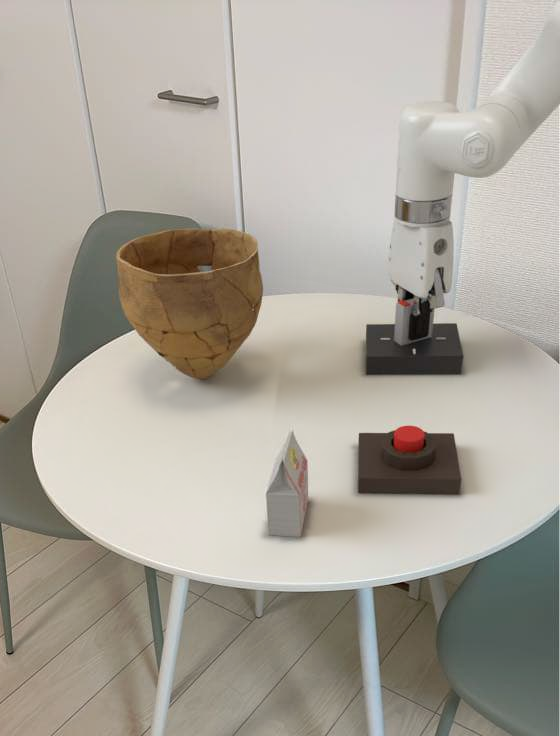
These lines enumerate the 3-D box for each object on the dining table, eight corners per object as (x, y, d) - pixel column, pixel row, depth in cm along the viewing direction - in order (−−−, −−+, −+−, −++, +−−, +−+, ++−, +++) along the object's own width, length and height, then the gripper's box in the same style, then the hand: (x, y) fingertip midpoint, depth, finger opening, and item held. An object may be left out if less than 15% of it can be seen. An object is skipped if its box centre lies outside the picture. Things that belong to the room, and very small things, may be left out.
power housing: (451, 447, 97) (455, 420, 95) (459, 494, 90) (463, 466, 87) (358, 446, 99) (359, 420, 96) (357, 492, 91) (358, 465, 89)
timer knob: (424, 332, 116) (427, 293, 112) (431, 337, 115) (435, 297, 111) (393, 340, 114) (396, 301, 110) (400, 345, 113) (403, 306, 109)
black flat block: (454, 340, 120) (456, 322, 118) (461, 374, 112) (463, 354, 109) (365, 341, 122) (366, 323, 119) (365, 374, 113) (366, 355, 111)
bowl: (116, 368, 120) (91, 241, 107) (229, 335, 126) (218, 211, 113) (168, 426, 105) (146, 287, 93) (293, 385, 112) (288, 250, 99)
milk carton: (268, 534, 86) (263, 462, 80) (278, 499, 91) (274, 428, 85) (300, 537, 86) (298, 464, 79) (308, 501, 91) (306, 430, 84)
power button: (422, 437, 93) (423, 425, 92) (424, 453, 90) (425, 441, 89) (393, 437, 93) (393, 425, 92) (393, 453, 91) (394, 441, 90)
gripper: (482, 218, 97) (465, 349, 109) (413, 188, 109) (405, 310, 121) (433, 229, 95) (421, 361, 107) (368, 198, 107) (364, 320, 119)
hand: (412, 333), depth 114 cm, fingers closed on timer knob, 2 cm apart
